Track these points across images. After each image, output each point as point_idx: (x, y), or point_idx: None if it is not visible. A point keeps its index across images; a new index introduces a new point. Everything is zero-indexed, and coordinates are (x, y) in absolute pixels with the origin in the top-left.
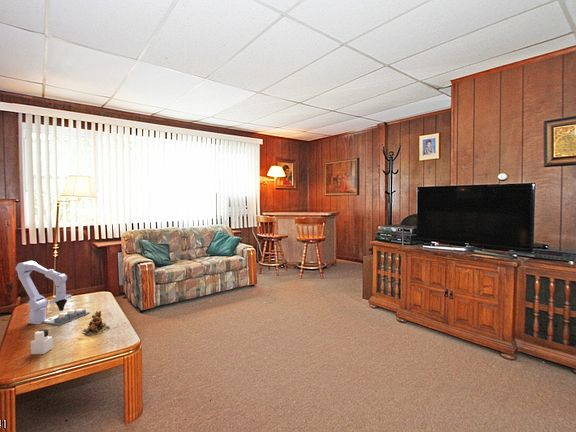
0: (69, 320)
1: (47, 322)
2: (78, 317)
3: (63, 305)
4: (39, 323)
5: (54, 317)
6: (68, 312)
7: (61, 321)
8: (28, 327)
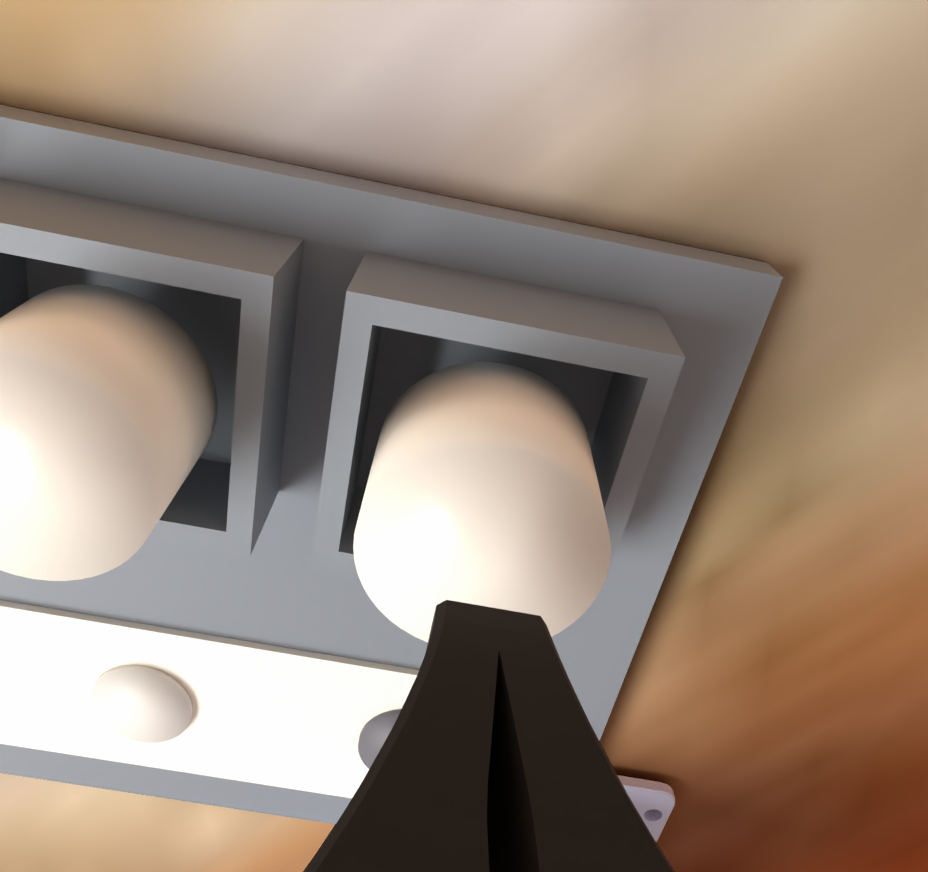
0: (390, 192)
1: (624, 671)
2: (21, 110)
3: (470, 838)
4: (642, 789)
5: (289, 734)
6: (174, 451)
7: (639, 316)
8: (816, 836)
